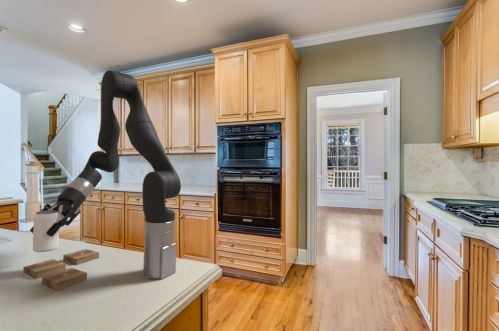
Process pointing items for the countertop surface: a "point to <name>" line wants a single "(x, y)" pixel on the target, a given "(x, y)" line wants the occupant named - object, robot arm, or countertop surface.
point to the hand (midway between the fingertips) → (40, 233)
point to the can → (44, 231)
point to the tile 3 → (81, 256)
